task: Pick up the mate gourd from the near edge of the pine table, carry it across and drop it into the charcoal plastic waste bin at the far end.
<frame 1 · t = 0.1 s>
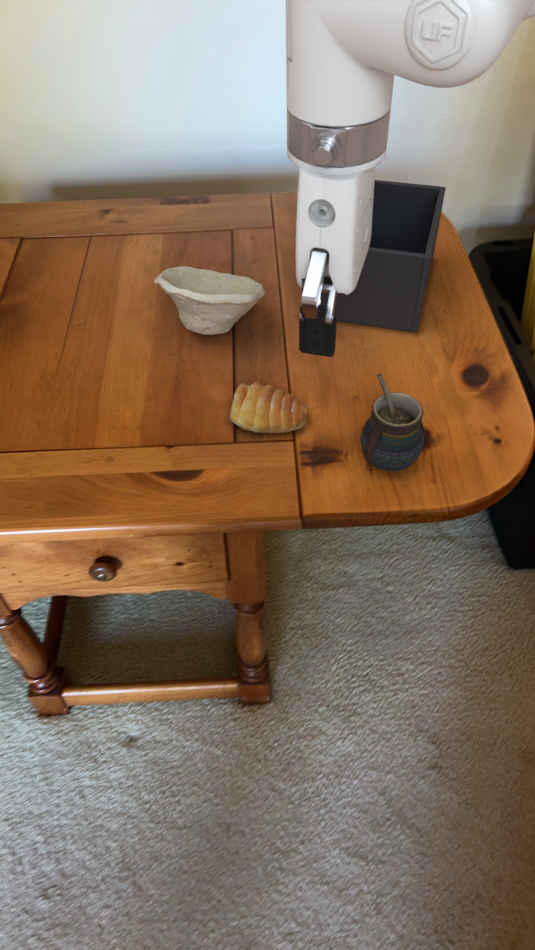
hand: (328, 320, 62), 20 cm above the table, tool pointing down, fingers open, 9 cm apart
trash bin: (369, 286, 99), on the table
bowl: (215, 325, 95), on the table
pastry: (265, 416, 83), on the table
mate gourd: (388, 457, 78), on the table
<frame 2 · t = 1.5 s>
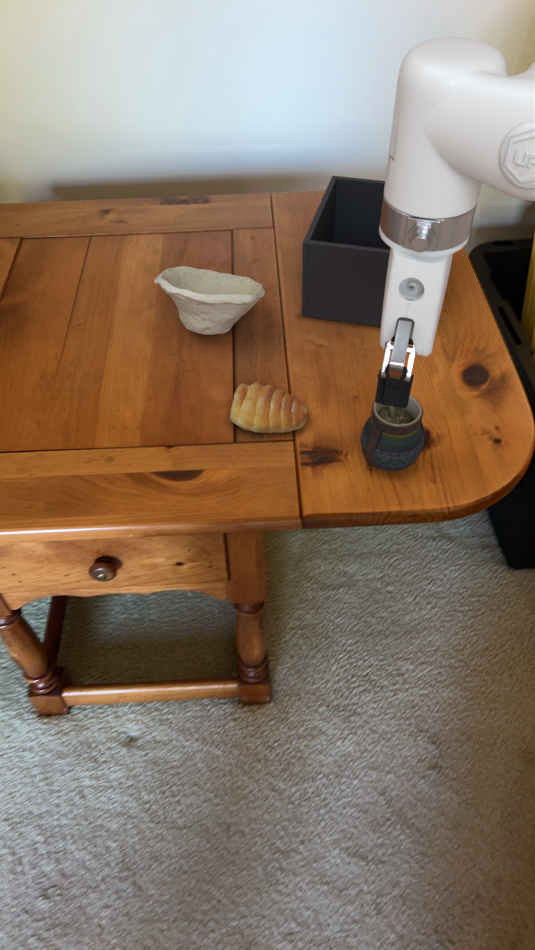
hand: (398, 371, 68), 13 cm above the table, tool pointing down, fingers open, 9 cm apart
nothing on the table moved.
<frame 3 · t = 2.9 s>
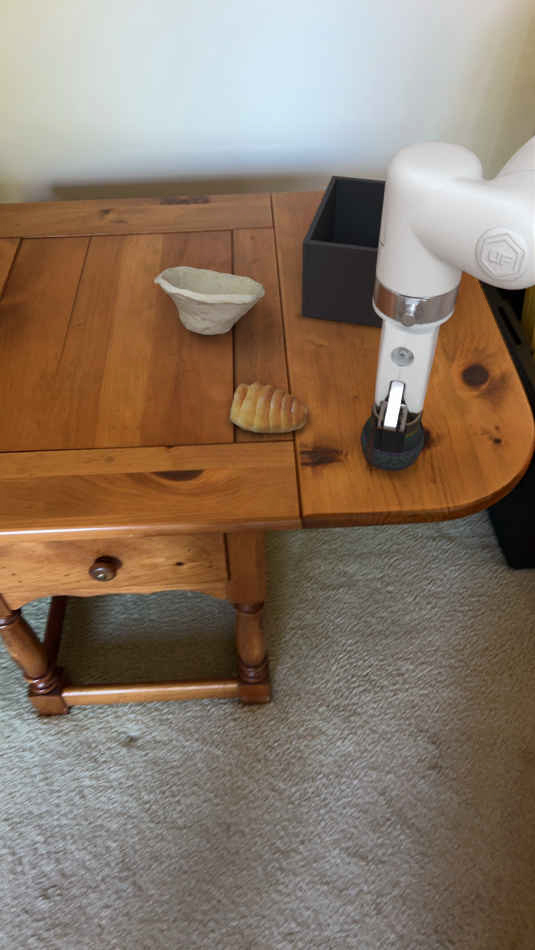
hand: (392, 425, 74), 5 cm above the table, tool pointing down, fingers closed on mate gourd, 6 cm apart
mate gourd: (387, 457, 78), on the table, touching gripper
everything else where it was.
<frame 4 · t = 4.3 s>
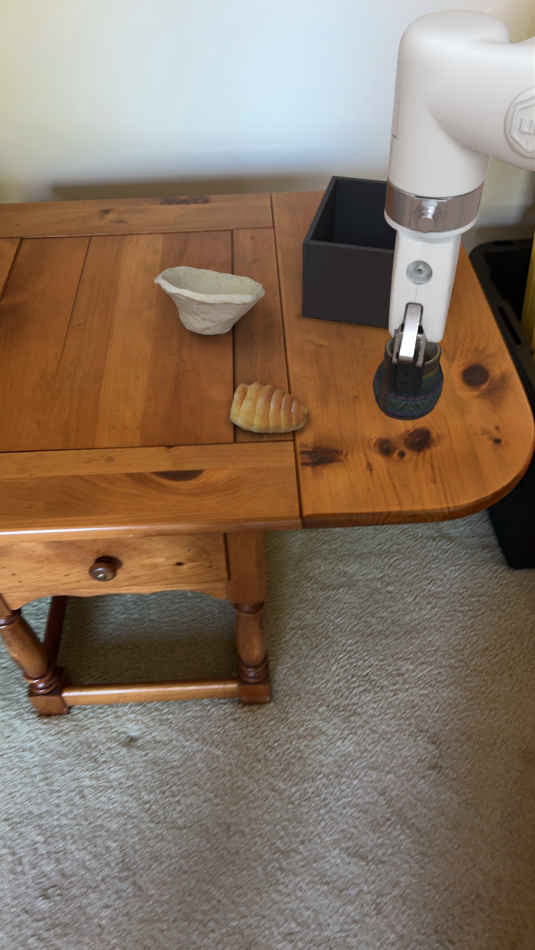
hand: (408, 367, 67), 14 cm above the table, tool pointing down, fingers closed on mate gourd, 6 cm apart
mate gourd: (403, 406, 71), point 9 cm above the table, touching gripper
everything else where it was.
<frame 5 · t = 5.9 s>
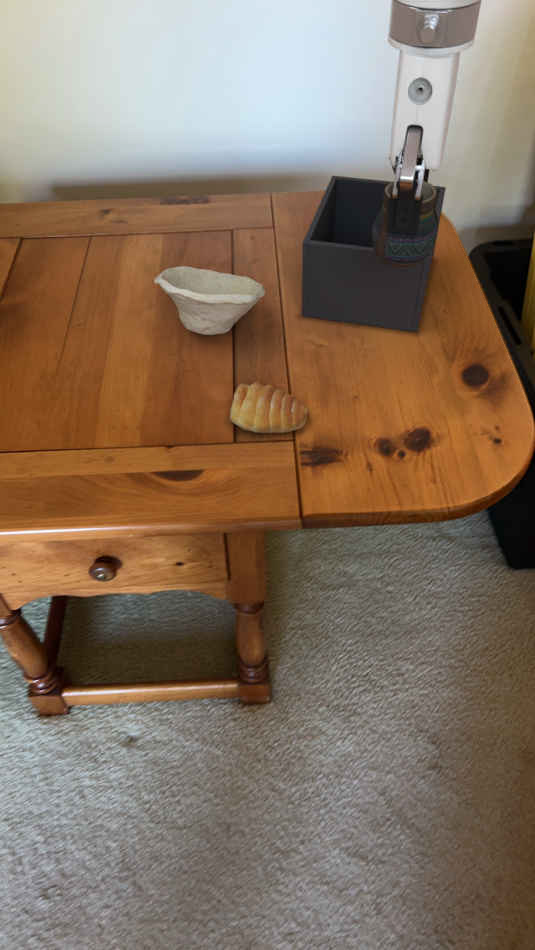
hand: (406, 214, 71), 22 cm above the table, tool pointing down, fingers closed on mate gourd, 6 cm apart
mate gourd: (399, 259, 75), point 16 cm above the table, touching gripper
everything else where it was.
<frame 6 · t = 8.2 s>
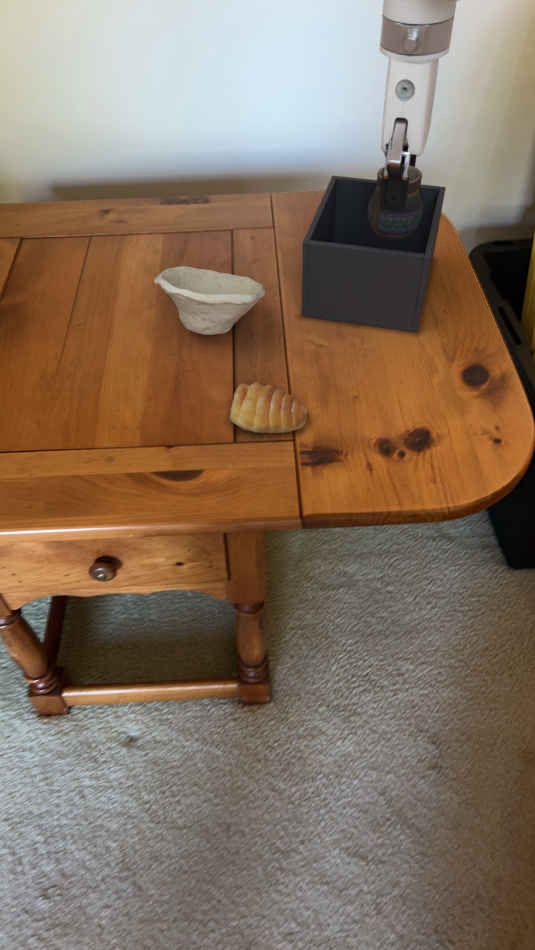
hand: (396, 194, 85), 16 cm above the table, tool pointing down, fingers closed on mate gourd, 6 cm apart
mate gourd: (391, 233, 89), point 11 cm above the table, touching gripper
everything else where it was.
when the fingers open (14 cm above the table, at t = 9.2 s): mate gourd drops 5 cm, resting on trash bin.
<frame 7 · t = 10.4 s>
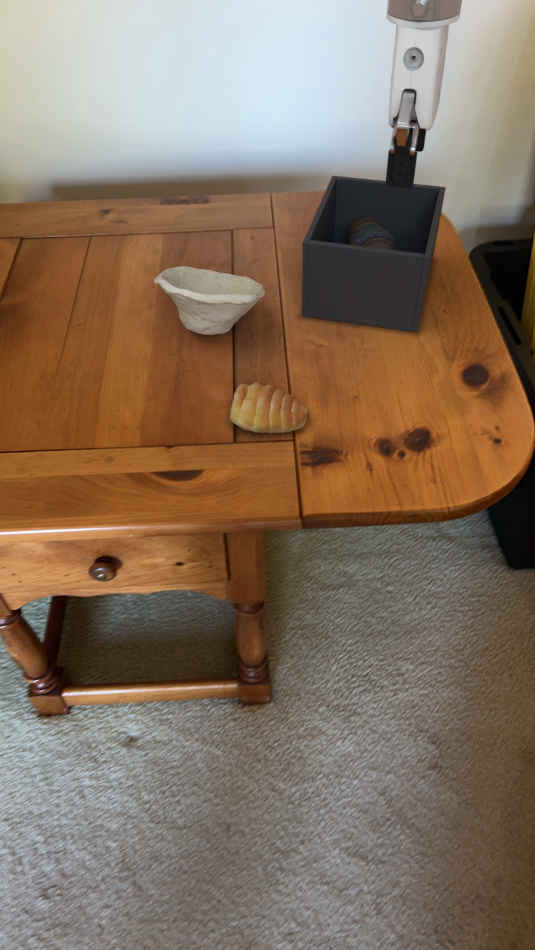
hand: (405, 167, 80), 20 cm above the table, tool pointing down, fingers open, 9 cm apart
mate gourd: (376, 264, 96), point 4 cm above the table, touching trash bin
everything else where it was.
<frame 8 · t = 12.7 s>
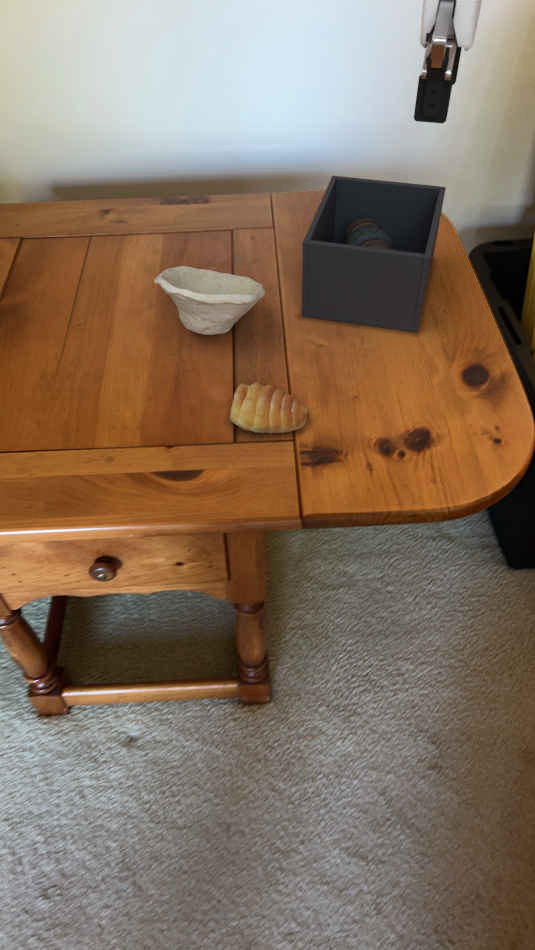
hand: (435, 101, 69), 30 cm above the table, tool pointing down, fingers open, 9 cm apart
nothing on the table moved.
at the end: mate gourd inside the target area in the trash bin (0.9 cm from its centre), point 4.1 cm above the trash bin's base; the gripper is holding nothing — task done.
